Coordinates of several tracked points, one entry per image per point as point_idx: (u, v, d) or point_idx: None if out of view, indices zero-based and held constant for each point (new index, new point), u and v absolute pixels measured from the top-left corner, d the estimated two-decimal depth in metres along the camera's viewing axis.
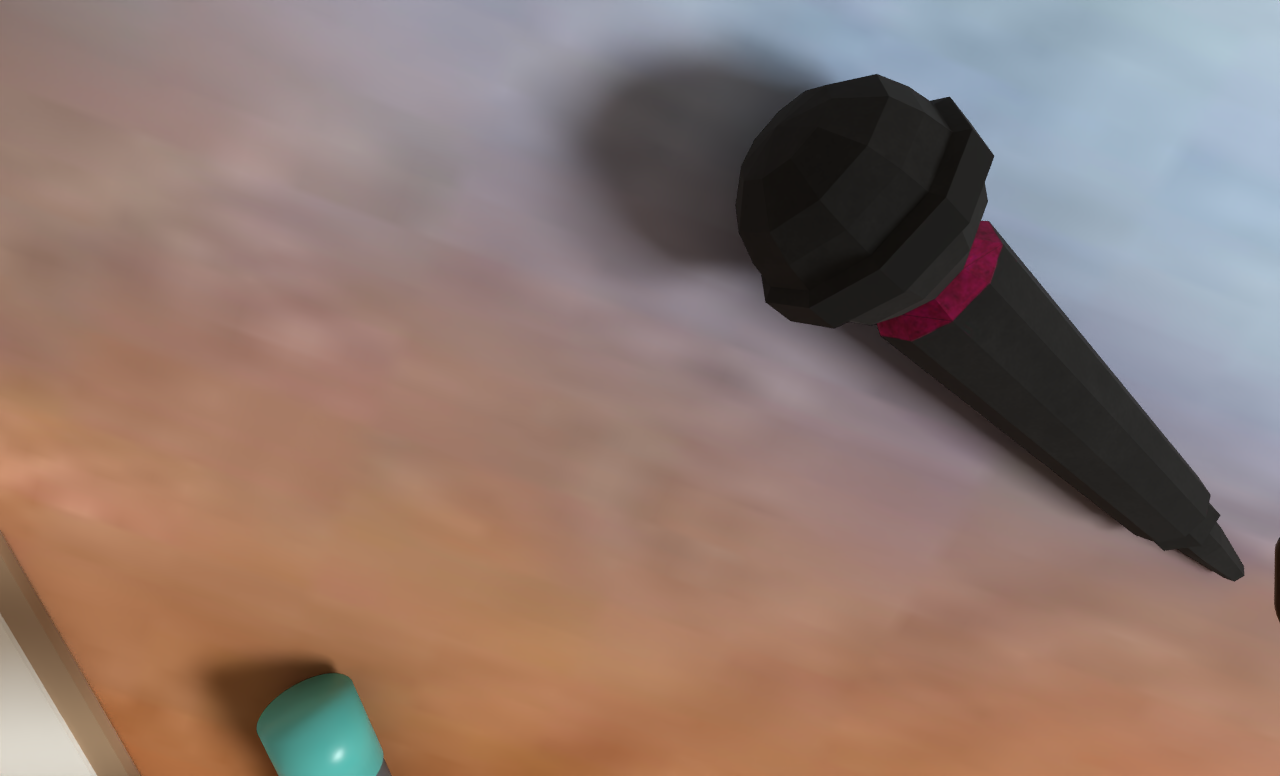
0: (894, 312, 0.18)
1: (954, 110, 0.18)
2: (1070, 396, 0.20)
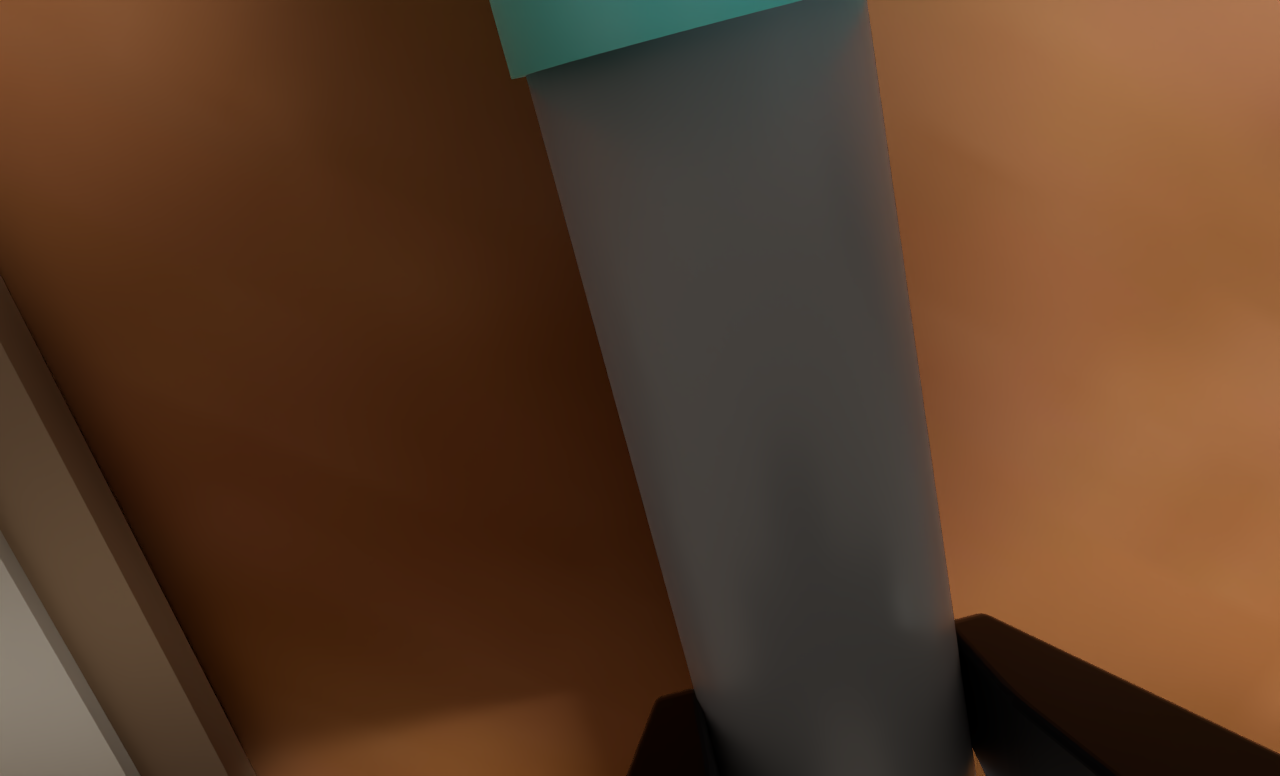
0: None
1: None
2: None
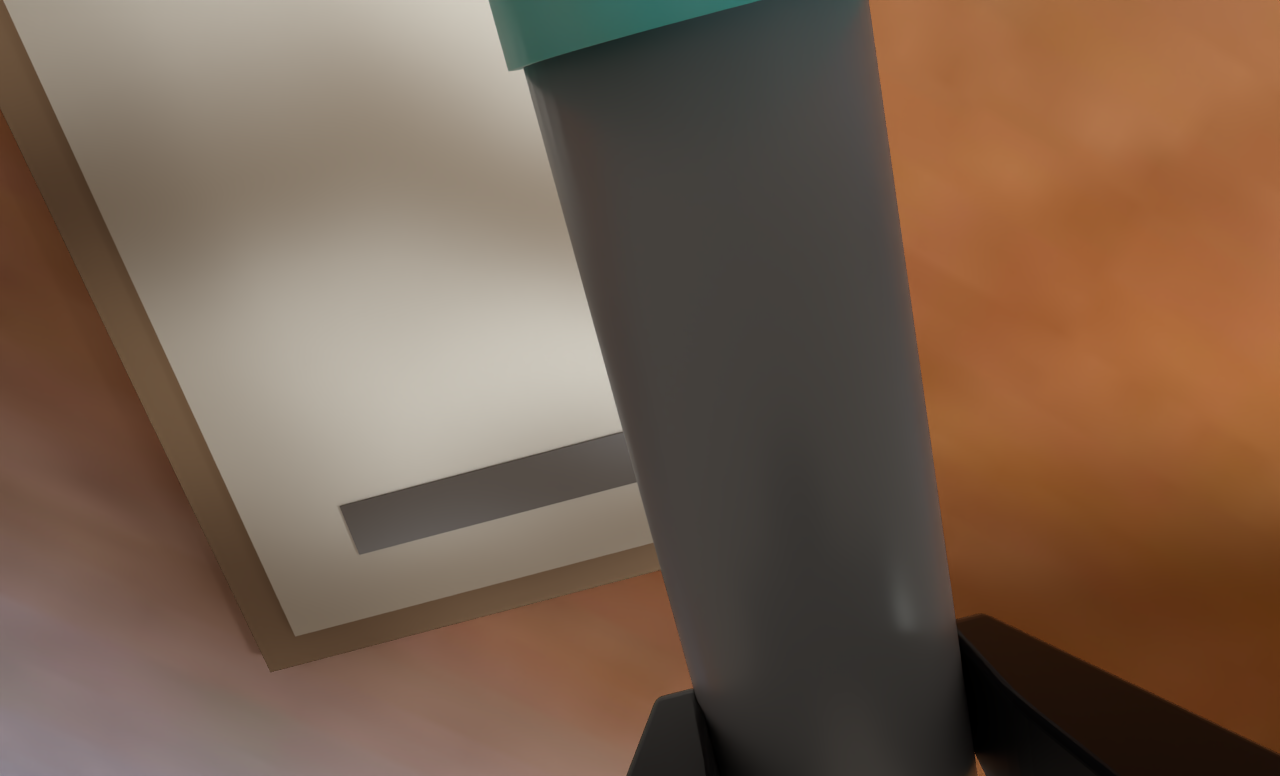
0: None
1: None
2: None
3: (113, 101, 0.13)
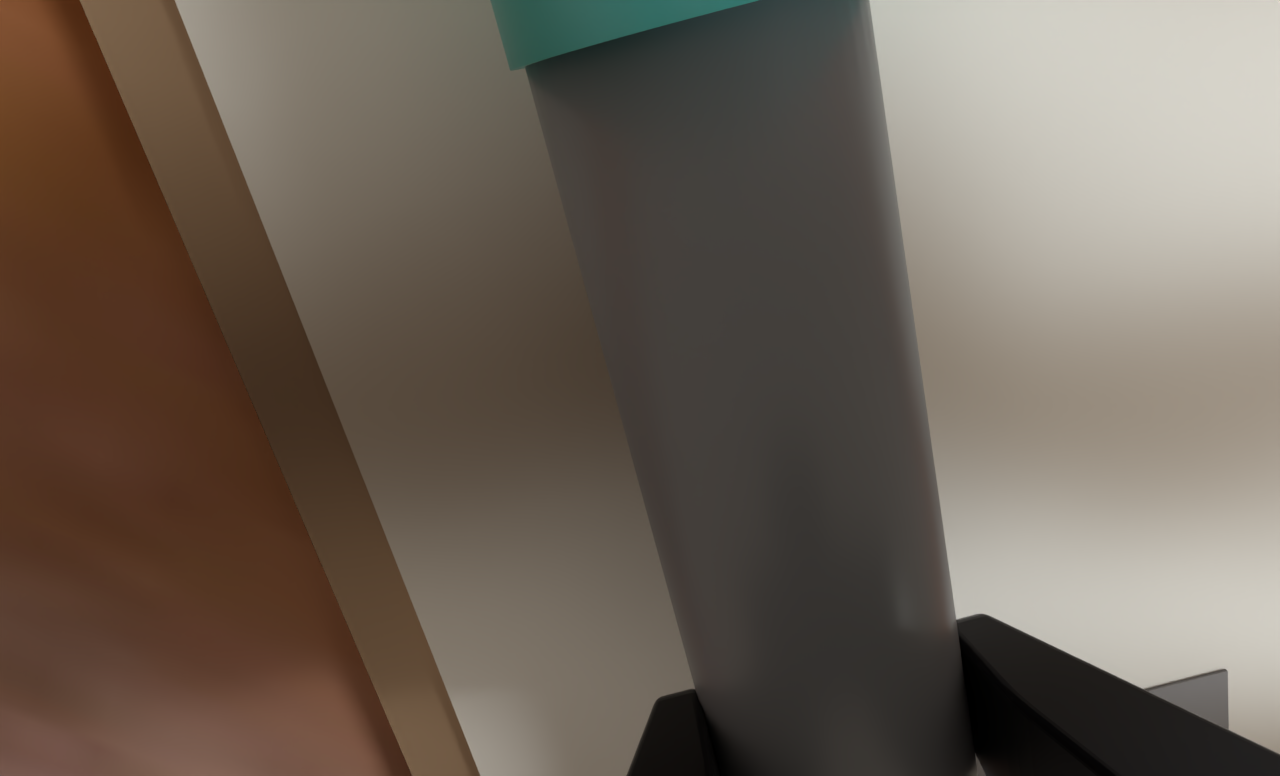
0: None
1: None
2: None
3: (370, 245, 0.08)
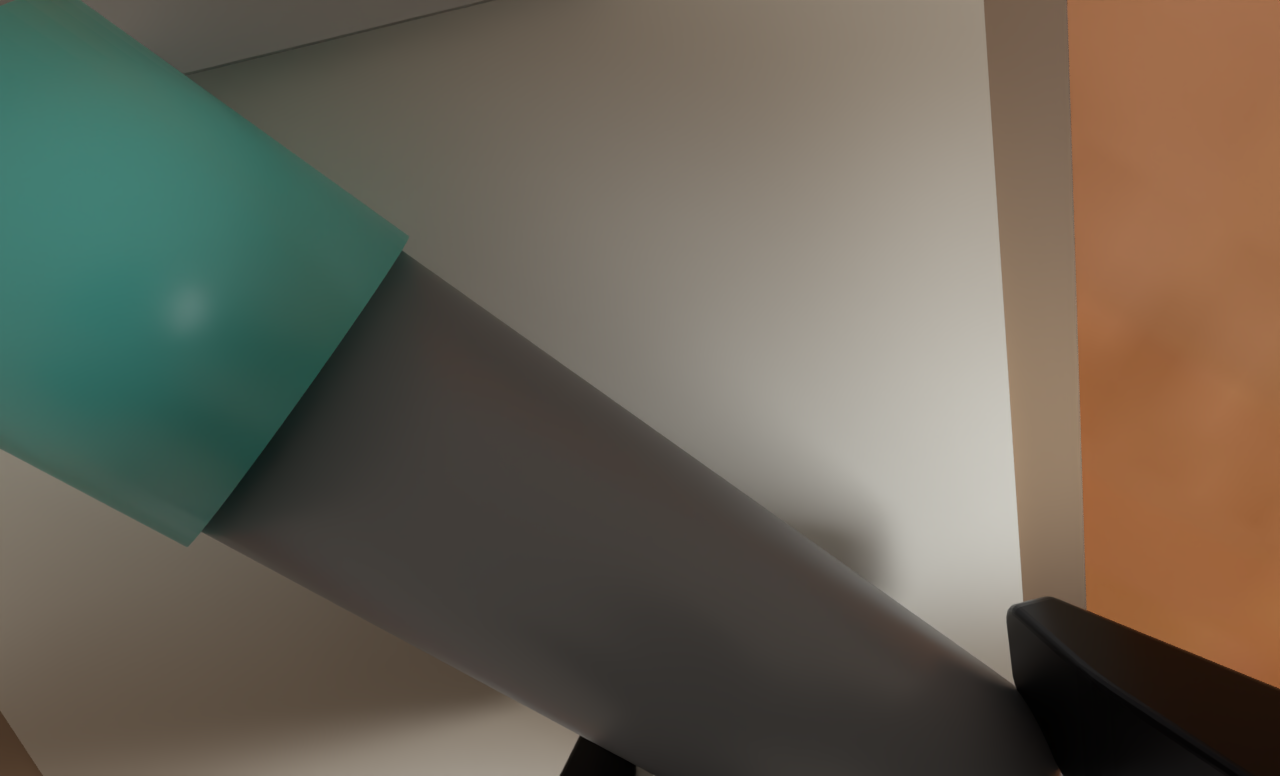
0: None
1: None
2: None
3: (54, 623, 0.09)
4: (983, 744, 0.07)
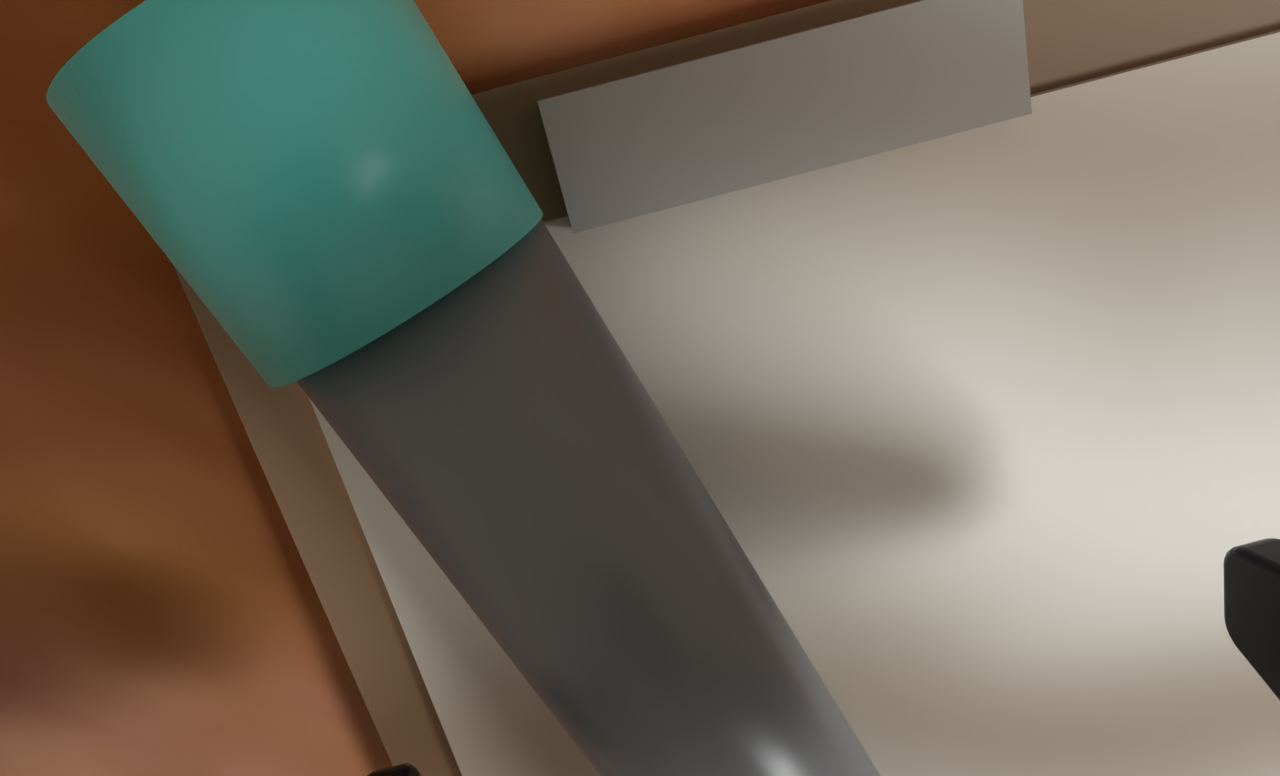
0: None
1: None
2: None
3: (490, 646, 0.10)
4: None
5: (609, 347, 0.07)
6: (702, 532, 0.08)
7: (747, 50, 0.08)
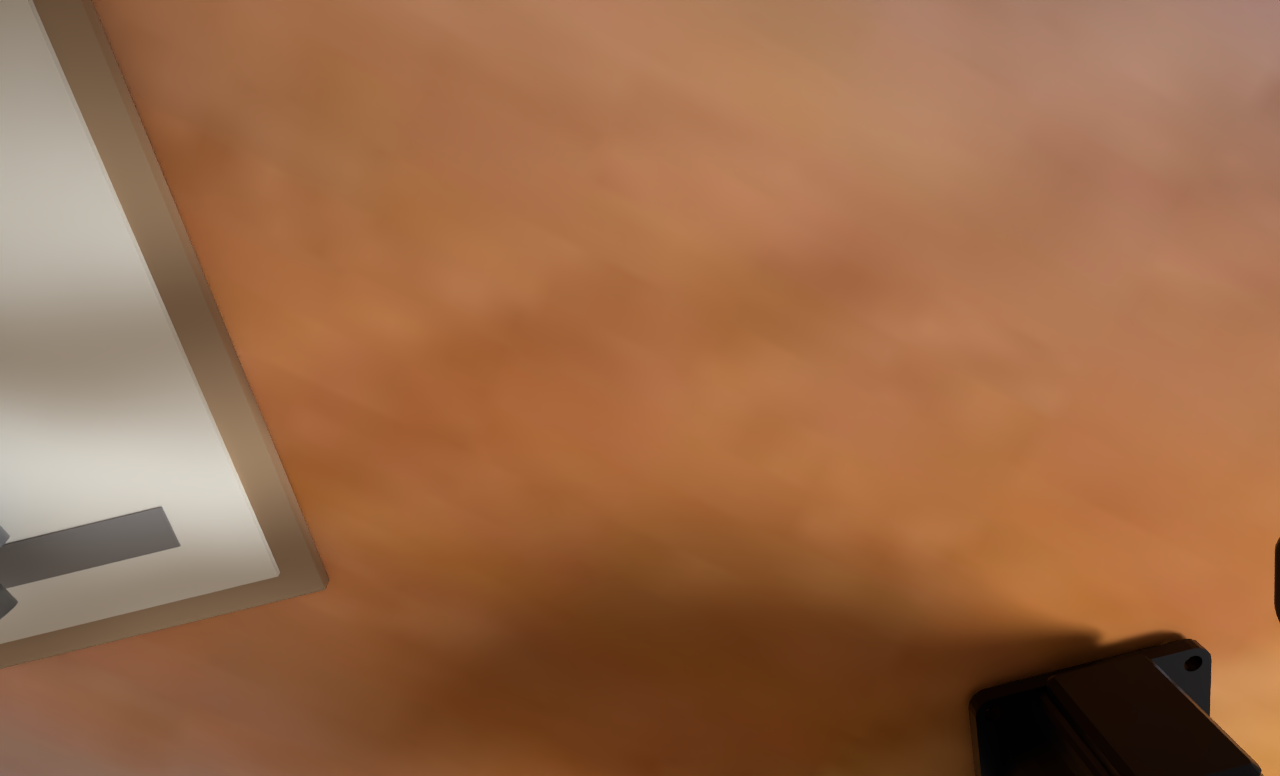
0: None
1: None
2: None
3: None
4: None
5: None
6: None
7: None
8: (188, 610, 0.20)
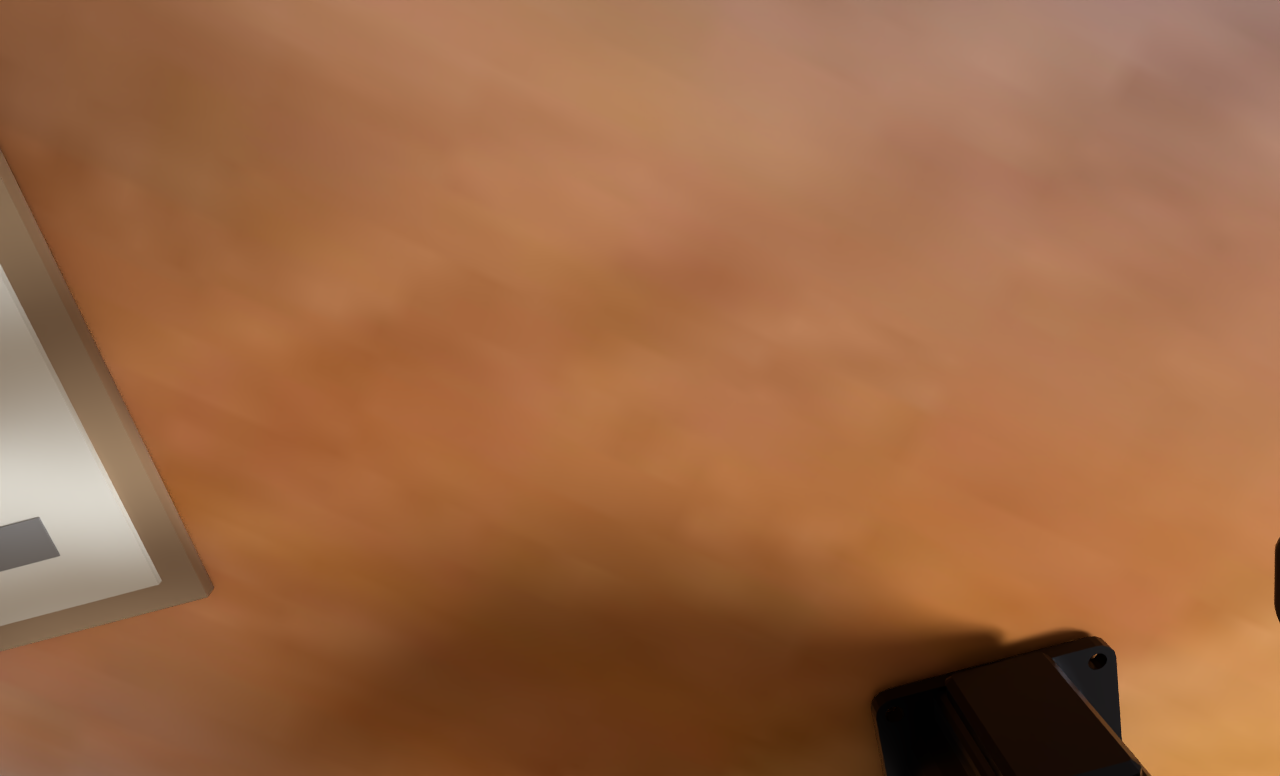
0: None
1: None
2: None
3: None
4: None
5: None
6: None
7: None
8: (74, 619, 0.20)
